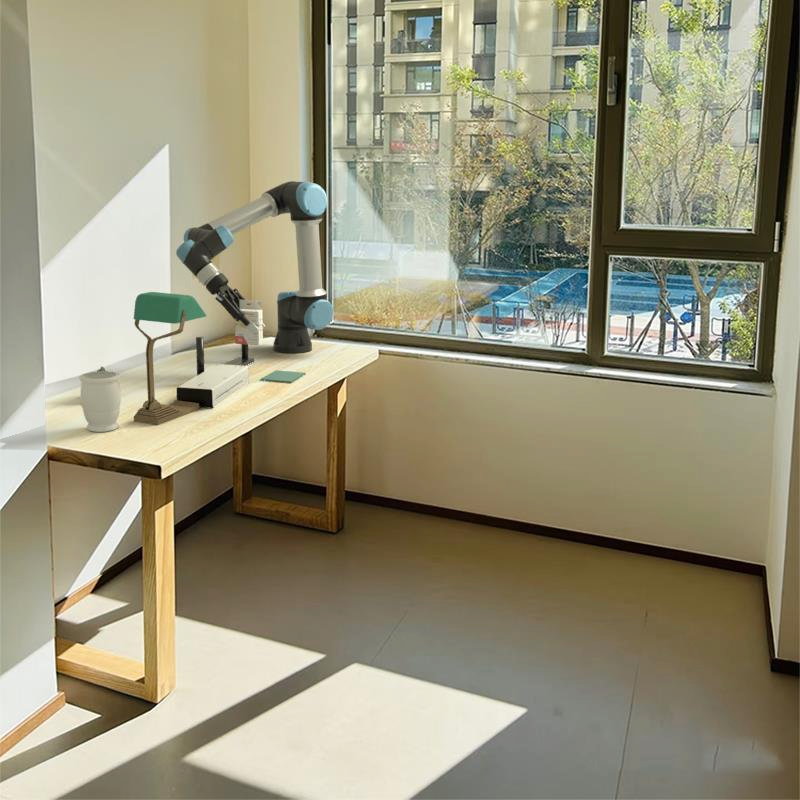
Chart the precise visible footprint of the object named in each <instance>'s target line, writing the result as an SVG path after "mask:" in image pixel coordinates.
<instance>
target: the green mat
mask: <svg viewBox="0 0 800 800" xmlns="http://www.w3.org/2000/svg"><path fill="white" fill-rule="evenodd" d="M303 375H304V376H306V372H302V371H301V372H300V371H291V370H290V371H289V370H277V369H276V370H274V371H272V372H271V373H268V374H266V375H265V376H263V377H261V378H260V381H261V380H265V381H264V382H271V381H278V382H277V383H283V382H287V383H286V384H292V383H294V382H296V381H297V380H299V379H300V377H301V378H303ZM295 380H296V381H295Z"/></svg>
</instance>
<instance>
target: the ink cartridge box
mask: <svg viewBox="0 0 800 800" xmlns="http://www.w3.org/2000/svg"><path fill="white" fill-rule="evenodd" d="M247 303H249V304H250V305H247ZM251 304H252V305H251ZM239 305H240V310H241V311H242V312H243V314H244V316H245V315H247V316H248V318H249V319H250V320H251V321H252V322H253V323H254V324H255V325H256V326H257V327H258V328H259V329H258V330H257V331H256V332H255V333H254V334H252V333H251V332H250V331H249V330H248V329H247V327H246V326H245V325H244V324H243V323H242V322H241V321H240V320H239V321H238V322H237V321H236V320H235V319H234V335H235V336H234V337H235V338H234V340H235V342H234V344H235V345H241V344H246V345H248V346H249V345H250V346H259V345H261V344H262V343H263V342H264V338H263V337H264V335H263V333H264V332H263V331H264V330H263V329H264V328H263V324H264V322H263V319H264V318H263V306H262V305H263V301H262V300H255V299H252V300H251V299H245V300H239Z"/></svg>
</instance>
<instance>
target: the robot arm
mask: <svg viewBox="0 0 800 800" xmlns="http://www.w3.org/2000/svg"><path fill="white" fill-rule="evenodd" d="M260 195H261V196H260V197H258V198H256V199H254V200H252V201H251V202H248V203H245V204H244V205H242V206H240V207H238V208H236V209H234V210H232V211H230V212H228V213H225V214H223V215H221V216H220V217H217V218H215V219H213V220H211V221H209V222H206V223H205V224H203V225H201V226H198V227H196V226H195V227H190V228H187V229H186V230H185V232H184V234H183V241H184V242H183V243H181V245H179V246H178V248H177V249H176V252H175V254H176V256H177V257H178V259H179V260H180V261H181V264H183V265H184V266H185V268H187V269H188V271H190V273H192V274H193V275H194V276H195V278H196V279H197V280H198V282H199V283H201V284H202V285H203V287H205V289H206V290H207V291H208V292H209V293H210V294H211V295H213V296H214V295H216V297H215V298H214V299H215V300H216V301H217V302H218V303H220V305H221V306H222V307H223V308H224V309H225V310H226V312H228V314H230V316H231V317H232V318H233V319H234V321H235V320H236V321H237V322H238V321H239V320H240V321H241V322H242V323H243V324H244V325H245V326H246V327H247V329H248V330H249V331H250V332H251V333H252V334H254V333H255V332H256V331H257V330H258V329H259V328H258V327H257V326H256V325H255V324H254V323H253V322H252V321H251V320H250V319H249V318H248V316H247V315H245V316H244V314H243V312H242V311H241V310H240V305H239V300H246V299H245V297H244V296H243V295H242V294H241V293H240V291H239V290H238V289H237V288H234V289H232V287H230V286H229V285H228V284H229V279H228V278H227V277H226V275H225V274H224V273H222V272H221V270H220V269H219V268H218V267H217V266H216V264H214V262H213V261H212V260H213V259H214V258H215V257H217V256H218V255H219V254H221V253H222V252H225V250H226V249H228V248H229V247H230V246H231V245H232V244H233V243H234V238H235V237H234V236H233V235H235V234H236V233H239V232H241V231H243V230H244V229H247V228H249V227H251V226H253V225H255V224H257V223H259V222H261V221H264V220H265V219H268V218H270V217H272V218H276V217H277V216H280V215H283V214H289V215H290V222H292V223H293V224H294V226H295V240H296V242H295V243H296V255H297V269H298V271H297V273H298V274H297V275H298V285H299V287H298V288H299V289H298V290H293V291H292V290H290V291H281V292H279V293H278V294H277V301H276V304H277V332H276V334H275V337H274V340H273V346H272V347H273V351H275V352H278V353H286V354H296V353H297V354H300V353H301V354H302V353H308V352H310V351H313V343H312V340H311V337H310V333H309V331H308V330H317V331H318V330H319V331H320V330H323V329H325V328H326V327H328V326H329V324H330V323H331V321H332V320H333V317H334V307H333V304H331V302H330V301H328V294H327V291H326V290H325V289H324V288H323V276H322V261H321V259H322V258H321V244H320V240H321V239H320V225H319V224H320V223H321V222H322V220H323V213H324V212H325V211H326V209H327V207H328V195H327V193H326V191H325V189H324V188H323V187H322V186H321V185H319V184H317V183H314V182H311V181H294V180H293V181H292V180H291V181H287V182H284V183H281V184H279V185H277V186H275V187H273V188H271V189H269V190H266V191H264V192H263V193H261V194H260ZM247 305H251V303H247ZM265 327H266V325H265V323H263V329H264V328H265Z"/></svg>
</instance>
